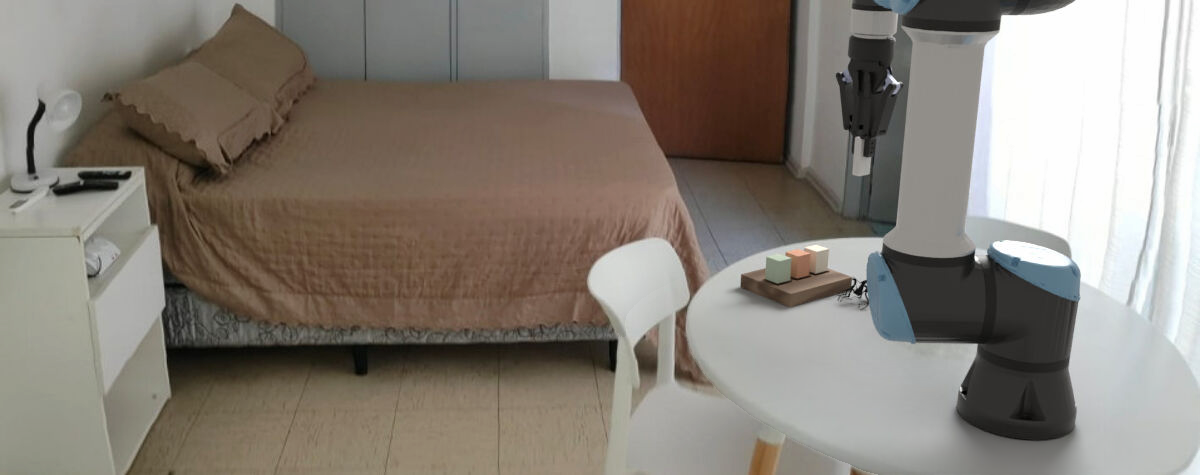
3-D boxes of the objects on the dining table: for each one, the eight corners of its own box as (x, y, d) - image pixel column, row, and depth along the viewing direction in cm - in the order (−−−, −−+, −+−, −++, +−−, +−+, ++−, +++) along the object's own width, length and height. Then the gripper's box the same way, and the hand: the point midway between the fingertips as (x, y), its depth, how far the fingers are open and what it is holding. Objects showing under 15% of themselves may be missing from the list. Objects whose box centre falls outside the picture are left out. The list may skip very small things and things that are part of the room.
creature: (852, 318, 197) (893, 303, 199) (848, 289, 195) (890, 274, 197) (827, 302, 204) (867, 288, 206) (823, 274, 202) (864, 260, 204)
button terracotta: (809, 275, 206) (810, 253, 204) (796, 278, 204) (798, 256, 203) (796, 270, 208) (797, 249, 207) (784, 273, 206) (785, 251, 205)
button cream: (827, 270, 208) (829, 248, 207) (815, 273, 206) (817, 251, 205) (814, 266, 210) (816, 244, 209) (802, 269, 209) (804, 247, 208)
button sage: (790, 280, 203) (791, 258, 202) (777, 283, 201) (779, 261, 200) (777, 275, 205) (779, 253, 204) (765, 278, 203) (766, 256, 202)
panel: (851, 290, 206) (852, 277, 206) (789, 307, 198) (790, 293, 197) (800, 271, 215) (801, 259, 215) (740, 287, 207) (741, 274, 206)
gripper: (919, 38, 191) (905, 179, 199) (858, 28, 201) (847, 163, 209) (887, 42, 187) (875, 186, 194) (827, 31, 197) (817, 169, 204)
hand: (860, 174), depth 202 cm, fingers closed
